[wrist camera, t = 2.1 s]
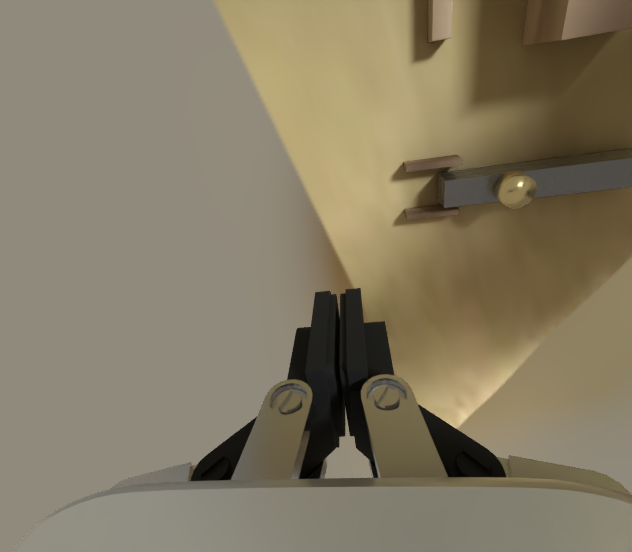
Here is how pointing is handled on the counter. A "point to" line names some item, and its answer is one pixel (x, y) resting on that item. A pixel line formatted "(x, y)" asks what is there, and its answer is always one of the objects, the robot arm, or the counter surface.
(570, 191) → the bar
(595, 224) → the counter surface
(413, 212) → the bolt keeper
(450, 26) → the bolt guide rails
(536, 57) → the counter surface
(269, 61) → the counter surface
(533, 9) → the cap block
